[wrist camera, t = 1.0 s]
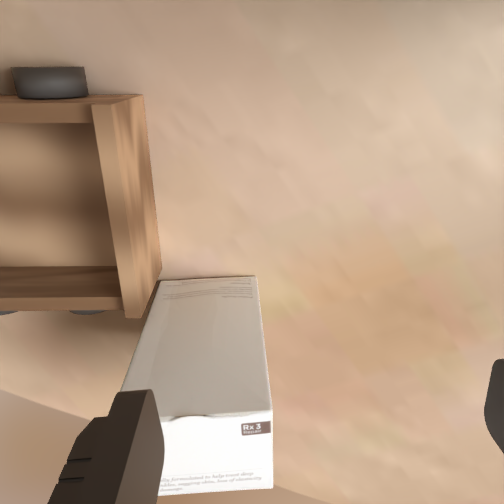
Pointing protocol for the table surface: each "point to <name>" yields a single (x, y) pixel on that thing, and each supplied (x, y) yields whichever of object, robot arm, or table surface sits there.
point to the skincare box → (208, 384)
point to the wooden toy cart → (75, 197)
